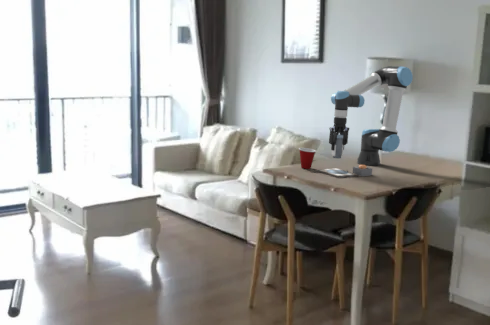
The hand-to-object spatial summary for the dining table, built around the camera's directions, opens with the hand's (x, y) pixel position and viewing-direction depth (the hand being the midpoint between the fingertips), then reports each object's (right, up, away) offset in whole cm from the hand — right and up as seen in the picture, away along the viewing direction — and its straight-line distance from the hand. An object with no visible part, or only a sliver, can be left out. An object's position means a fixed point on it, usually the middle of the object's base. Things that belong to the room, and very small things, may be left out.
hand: (337, 155), depth 333 cm
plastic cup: (-18, -8, +7) cm, 21 cm away
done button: (+14, -8, -5) cm, 17 cm away
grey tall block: (0, -1, 0) cm, 1 cm away
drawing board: (-1, -11, -6) cm, 13 cm away
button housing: (+14, -11, -5) cm, 19 cm away
